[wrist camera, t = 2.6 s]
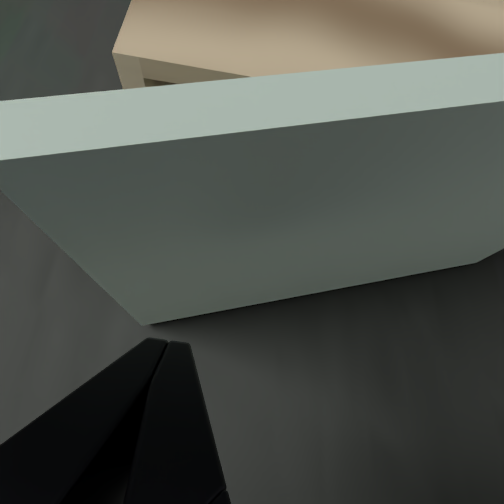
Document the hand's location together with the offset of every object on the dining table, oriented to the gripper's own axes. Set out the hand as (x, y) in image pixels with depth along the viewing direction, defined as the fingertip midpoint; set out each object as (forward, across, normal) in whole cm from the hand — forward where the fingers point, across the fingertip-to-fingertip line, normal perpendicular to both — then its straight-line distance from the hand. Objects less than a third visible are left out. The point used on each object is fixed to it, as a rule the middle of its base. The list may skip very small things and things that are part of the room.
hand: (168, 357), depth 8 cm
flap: (+10, -5, +3) cm, 11 cm away
